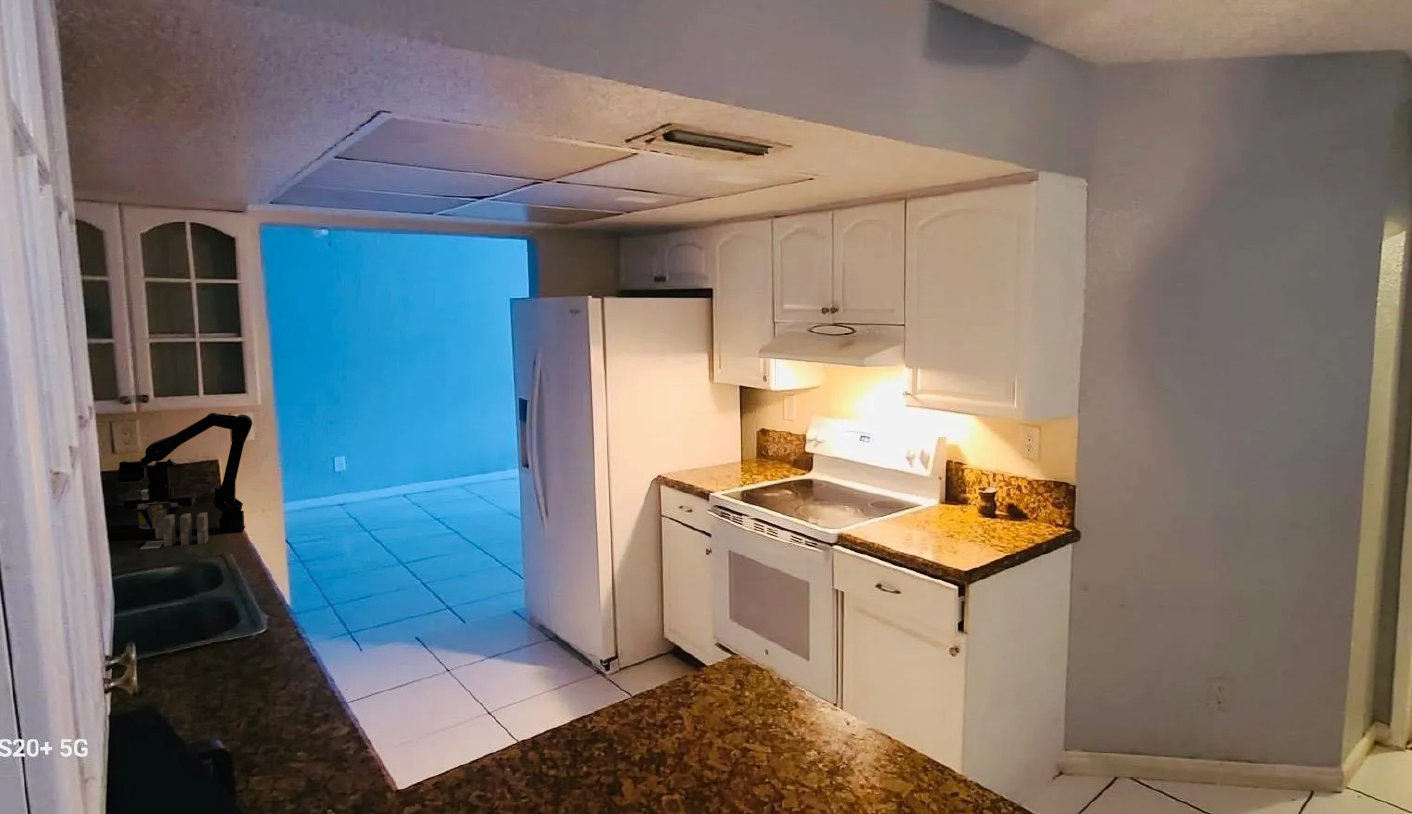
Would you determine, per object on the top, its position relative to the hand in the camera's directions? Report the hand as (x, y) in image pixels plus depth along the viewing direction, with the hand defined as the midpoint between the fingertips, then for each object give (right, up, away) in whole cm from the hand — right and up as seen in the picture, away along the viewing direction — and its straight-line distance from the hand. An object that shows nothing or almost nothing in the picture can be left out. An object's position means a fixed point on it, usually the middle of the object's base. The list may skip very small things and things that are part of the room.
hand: (161, 527), depth 255 cm
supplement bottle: (-11, -2, +11) cm, 16 cm away
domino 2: (+12, -4, -5) cm, 14 cm away
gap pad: (+4, -4, -9) cm, 10 cm away
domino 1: (+8, -4, -7) cm, 11 cm away
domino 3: (+16, -4, -4) cm, 17 cm away
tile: (0, -3, 0) cm, 3 cm away
